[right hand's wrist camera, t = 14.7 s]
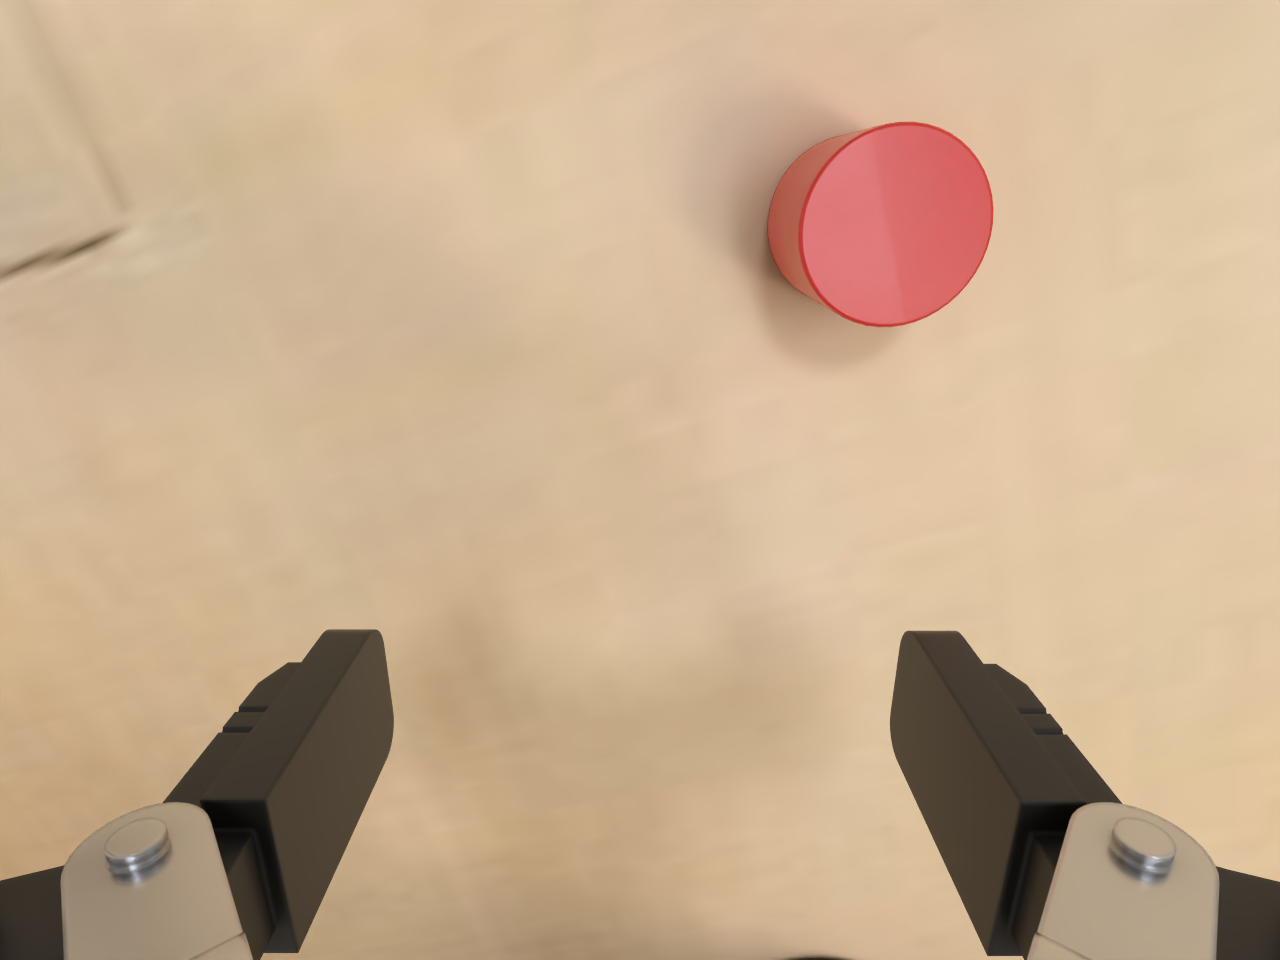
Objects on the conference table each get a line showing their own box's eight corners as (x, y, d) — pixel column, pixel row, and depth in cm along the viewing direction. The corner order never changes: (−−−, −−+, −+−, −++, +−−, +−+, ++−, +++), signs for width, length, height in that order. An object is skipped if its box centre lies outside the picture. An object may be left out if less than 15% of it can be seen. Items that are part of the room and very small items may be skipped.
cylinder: (738, 260, 21) (763, 275, 18) (819, 103, 20) (865, 82, 16) (872, 329, 22) (923, 359, 18) (958, 182, 21) (1035, 181, 17)
